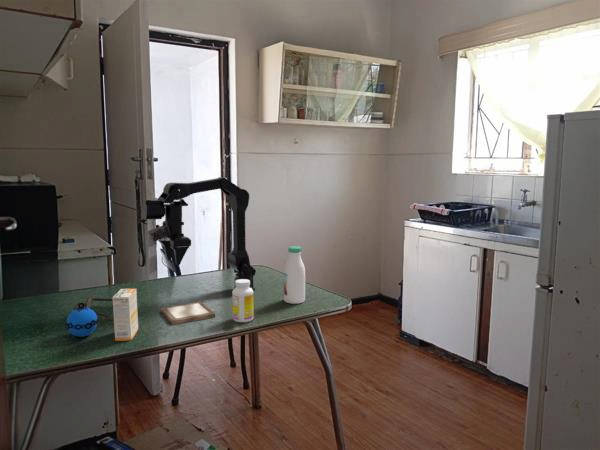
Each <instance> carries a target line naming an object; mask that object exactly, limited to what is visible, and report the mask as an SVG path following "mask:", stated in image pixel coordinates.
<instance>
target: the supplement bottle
mask: <svg viewBox="0 0 600 450" xmlns="http://www.w3.org/2000/svg"><path fill="white" fill-rule="evenodd" d="M235 285H236V288H235V289H234V288H233V289H232V291H231V292H232V293H231V294H232V320H233V321H234V322H237V323H249V322H251V321H253V319H254V317H255V316H254V290H252V288H250V287H249V286H250V280H247V279H239V280H236V281H235Z"/></svg>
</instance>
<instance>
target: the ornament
mask: <svg viewBox="0 0 600 450" xmlns="http://www.w3.org/2000/svg"><path fill="white" fill-rule="evenodd" d="M78 303H79V304H78ZM78 303H77V304H78V307H79V308H76V309H75V310H74V309H72V310H71V311H72V312H71V311H70V312H71V313H70V312H69V314H68V315H67V319H66V320H65V328H66V330H68V333H70V334H71V335H73V336H75V337H79V338H82V337H87V336H89V335H90V334H92V333H93V332H94V331H95V330H96V328H97V326H98V325H99V315H96V313H97V312H95V311H94V310H93V309H91V308H86V307H85V306H84V303H85V302H84V303H83V302H78ZM81 304H82V306H81V307H80V305H81Z"/></svg>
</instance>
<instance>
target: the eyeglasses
mask: <svg viewBox="0 0 600 450" xmlns="http://www.w3.org/2000/svg"><path fill="white" fill-rule="evenodd" d="M94 301H95V302H113V298H101V297H100V298H95V297H93V296H92V295H89V296H88V297H87V298H86V302H84V307H86V308H89V309H91V307H92V304H93V302H94ZM79 303H80V302H78V303H76V305H75V306H74V308H73V310H75V309H76V308H79V307H78V304H79ZM81 306H82V304H81V305H80V307H81ZM73 310H71V311H70V312H69V314H70V313H71V312H72V311H73ZM95 313H96V315H97V316H101V317H102V316H103V317H105V318H106V319H107V320H108V321H110V322H114V318H113V319H112V318H110V317H109V316H108V315H106V314H105V313H97V312H95Z"/></svg>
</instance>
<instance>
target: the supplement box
mask: <svg viewBox="0 0 600 450" xmlns="http://www.w3.org/2000/svg"><path fill="white" fill-rule="evenodd" d="M137 294H138V293H137V288H120V289H119V290H118V292H116V293H115V294H114V295H113V296H112V298H111V299H113V301H112V308H113V309H112V311H113V312H112V314H113V319H114V321H113V327H114V340H115V341H116V342H119V341H120V342H121V341H123V342H124V341H132V340H133V339H134V337H135V336H136V334H137V332H138V331H139V317H138V298H137V297H138V295H137Z"/></svg>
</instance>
